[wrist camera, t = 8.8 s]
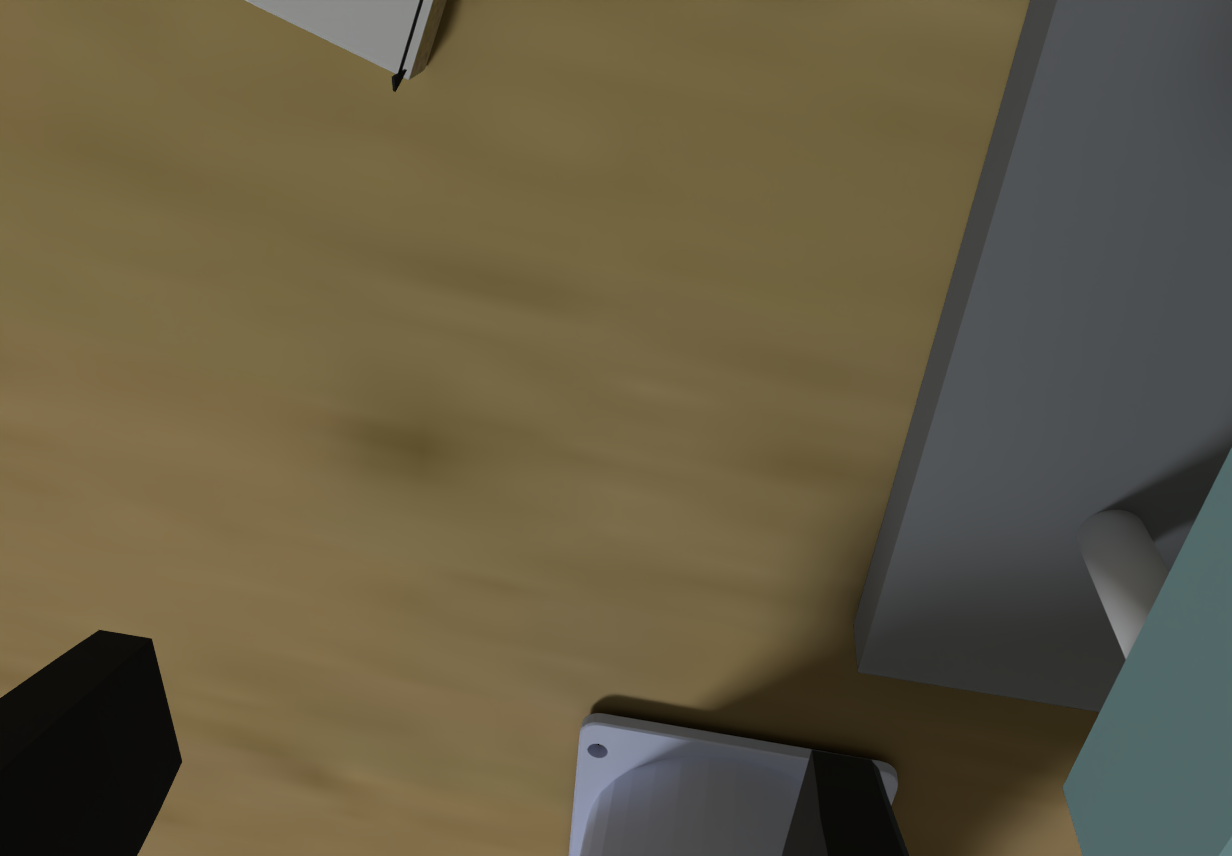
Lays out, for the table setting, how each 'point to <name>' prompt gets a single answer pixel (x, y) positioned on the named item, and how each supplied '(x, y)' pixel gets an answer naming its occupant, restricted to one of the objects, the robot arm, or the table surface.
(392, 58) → the white ridged flat slab
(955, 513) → the peg stand
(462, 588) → the table surface
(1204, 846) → the teal rectangular block
